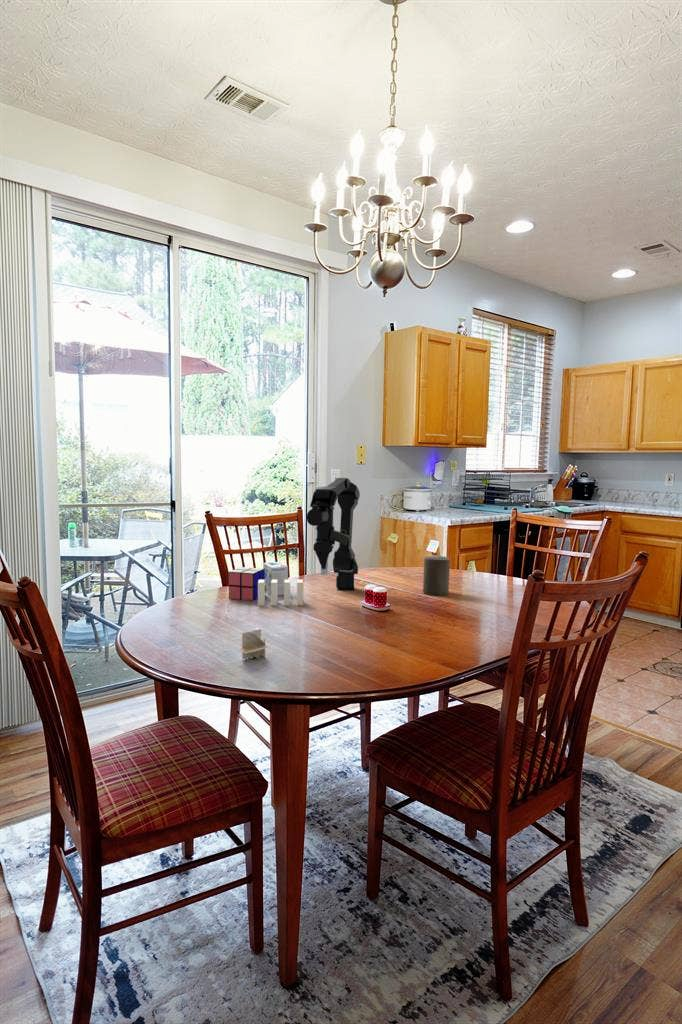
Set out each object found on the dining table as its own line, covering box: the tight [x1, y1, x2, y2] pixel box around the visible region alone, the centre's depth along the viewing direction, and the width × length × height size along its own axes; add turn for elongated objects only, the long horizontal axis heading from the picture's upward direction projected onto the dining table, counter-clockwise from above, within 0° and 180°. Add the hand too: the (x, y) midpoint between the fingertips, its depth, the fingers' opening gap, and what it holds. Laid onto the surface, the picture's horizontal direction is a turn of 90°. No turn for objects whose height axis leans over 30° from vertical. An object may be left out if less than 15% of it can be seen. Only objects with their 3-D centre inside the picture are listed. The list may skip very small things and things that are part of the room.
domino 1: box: [257, 580, 266, 606], centre depth 204 cm, size 2×5×8 cm, turn 3°
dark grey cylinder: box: [422, 554, 451, 597], centre depth 222 cm, size 10×10×15 cm
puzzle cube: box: [228, 566, 265, 602], centre depth 213 cm, size 10×10×10 cm
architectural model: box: [238, 628, 269, 660], centre depth 147 cm, size 3×7×7 cm, turn 132°
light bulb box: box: [262, 561, 289, 596], centre depth 220 cm, size 11×7×11 cm, turn 25°
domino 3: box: [283, 579, 291, 606], centre depth 204 cm, size 2×5×8 cm, turn 3°
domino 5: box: [320, 557, 329, 576], centre depth 205 cm, size 2×5×8 cm, turn 177°
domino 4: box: [296, 578, 304, 606], centre depth 204 cm, size 2×5×8 cm, turn 3°
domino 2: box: [270, 580, 279, 606], centre depth 204 cm, size 2×5×8 cm, turn 3°
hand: (324, 567), depth 205 cm, fingers closed on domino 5, 5 cm apart
